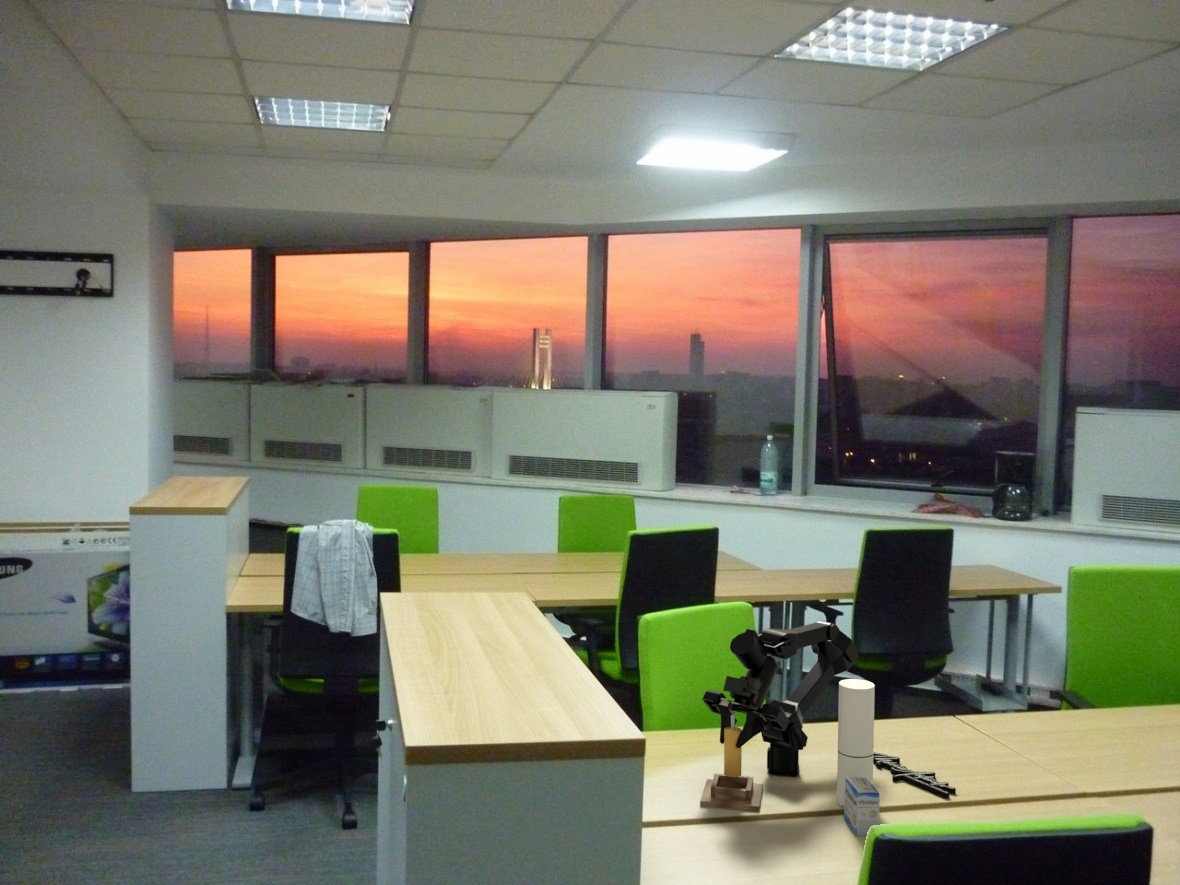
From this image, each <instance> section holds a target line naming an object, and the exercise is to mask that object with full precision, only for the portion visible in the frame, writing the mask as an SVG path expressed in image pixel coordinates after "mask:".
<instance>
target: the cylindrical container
mask: <svg viewBox="0 0 1180 885" xmlns="http://www.w3.org/2000/svg"><path fill="white" fill-rule="evenodd" d="M875 686H876V685H875V684H874V683H873V682H871V681H869V680H865V679H860V678H859V679H858V678H847V679H846V678H845V679H841V680H840V681H839V682H838V712H837V713H838V714H837V715H838V716H837V718H838V719H837V720H838V722H837V723H838V724H837V768H836V769H837V777H836V778H837V782H836V783H837V784H836V786H837V787H836V802H838V803H839V804H841V805H843V806H844V804H845V779H846V778H851V777H863V778H866V779H867V780H868V781H869V782H870V783H871V784H872V786H873V787H874V762H873V752H874V748H875V747H874V741H875V740H874V739H875ZM838 803H837V804H838ZM839 804H838V805H839ZM841 805H840V806H841ZM843 806H842V807H843Z"/></svg>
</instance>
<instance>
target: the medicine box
mask: <svg viewBox="0 0 1180 885" xmlns="http://www.w3.org/2000/svg"><path fill="white" fill-rule="evenodd" d="M880 796H881V795H880V792H879V791H878V790H877V789H876V787H875V786H874V785H873V786H872V784H871V783H870V782H869V781H868V780H867V779H866V778H863V777H851V778H846V779H845V804H844V807H843V810H844V811H843V812H844V813H843V819H844V820H845V822H846V823H847V825H848V826H849V827H850V828H851V829H852V831H853V832H854V834H856V836H857V837H867V836H866V835H867V832H868V830H869V828H870V827H871V826H873V825H878V824H879V825H880V805H881V804H880V803H881V801H880V800H881V797H880Z"/></svg>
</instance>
